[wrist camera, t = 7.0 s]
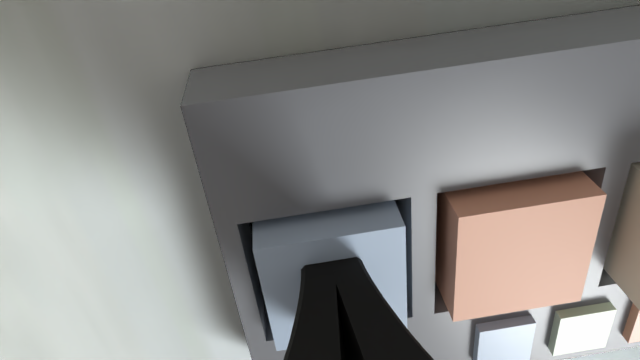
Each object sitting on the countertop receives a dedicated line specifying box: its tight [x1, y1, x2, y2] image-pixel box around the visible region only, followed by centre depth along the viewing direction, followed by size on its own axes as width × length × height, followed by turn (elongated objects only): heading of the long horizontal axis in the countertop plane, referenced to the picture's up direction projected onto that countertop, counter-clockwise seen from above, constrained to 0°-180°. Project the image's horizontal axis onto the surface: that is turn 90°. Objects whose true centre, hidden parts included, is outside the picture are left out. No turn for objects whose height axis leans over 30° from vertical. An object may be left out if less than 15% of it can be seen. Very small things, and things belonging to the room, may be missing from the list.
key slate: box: [253, 200, 407, 351], centre depth 13 cm, size 3×3×2 cm
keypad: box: [181, 5, 640, 360], centre depth 14 cm, size 19×10×2 cm, turn 96°
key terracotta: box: [435, 171, 607, 322], centre depth 13 cm, size 3×3×2 cm
